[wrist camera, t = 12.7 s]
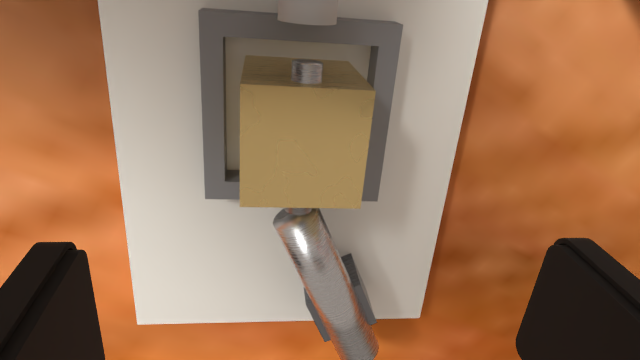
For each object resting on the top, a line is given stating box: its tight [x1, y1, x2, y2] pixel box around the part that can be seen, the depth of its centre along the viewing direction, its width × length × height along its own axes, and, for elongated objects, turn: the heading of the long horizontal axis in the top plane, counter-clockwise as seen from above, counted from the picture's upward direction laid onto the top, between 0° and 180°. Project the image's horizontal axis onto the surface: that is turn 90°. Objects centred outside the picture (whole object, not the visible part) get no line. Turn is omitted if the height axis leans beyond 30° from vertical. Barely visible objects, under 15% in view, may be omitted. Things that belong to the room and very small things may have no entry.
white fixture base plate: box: [98, 0, 488, 325], centre depth 22 cm, size 28×18×6 cm, turn 176°
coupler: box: [240, 55, 376, 216], centre depth 20 cm, size 6×5×6 cm
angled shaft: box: [273, 208, 379, 360], centre depth 25 cm, size 10×3×4 cm, turn 21°
